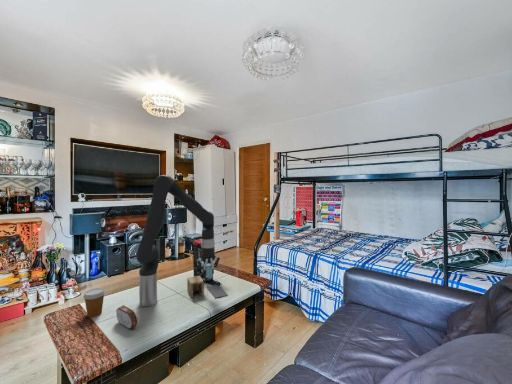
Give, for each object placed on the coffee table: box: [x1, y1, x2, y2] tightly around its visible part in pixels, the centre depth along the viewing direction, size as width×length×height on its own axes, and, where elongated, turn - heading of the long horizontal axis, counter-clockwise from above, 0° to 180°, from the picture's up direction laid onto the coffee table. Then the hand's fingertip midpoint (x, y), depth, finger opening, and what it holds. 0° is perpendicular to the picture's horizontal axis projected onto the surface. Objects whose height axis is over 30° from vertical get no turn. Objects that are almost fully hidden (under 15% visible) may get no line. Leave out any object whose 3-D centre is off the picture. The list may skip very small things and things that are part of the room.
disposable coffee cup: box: [83, 287, 106, 318], centre depth 126 cm, size 10×10×12 cm
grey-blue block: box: [201, 261, 212, 278], centre depth 144 cm, size 4×13×6 cm, turn 26°
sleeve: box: [186, 276, 205, 299], centre depth 150 cm, size 8×10×9 cm
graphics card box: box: [192, 239, 214, 283], centre depth 175 cm, size 17×7×27 cm, turn 47°
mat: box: [206, 284, 229, 299], centre depth 154 cm, size 8×18×1 cm, turn 28°
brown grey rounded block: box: [116, 305, 138, 330], centre depth 116 cm, size 15×3×8 cm, turn 56°
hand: (208, 275), depth 140 cm, fingers closed on grey-blue block, 3 cm apart
